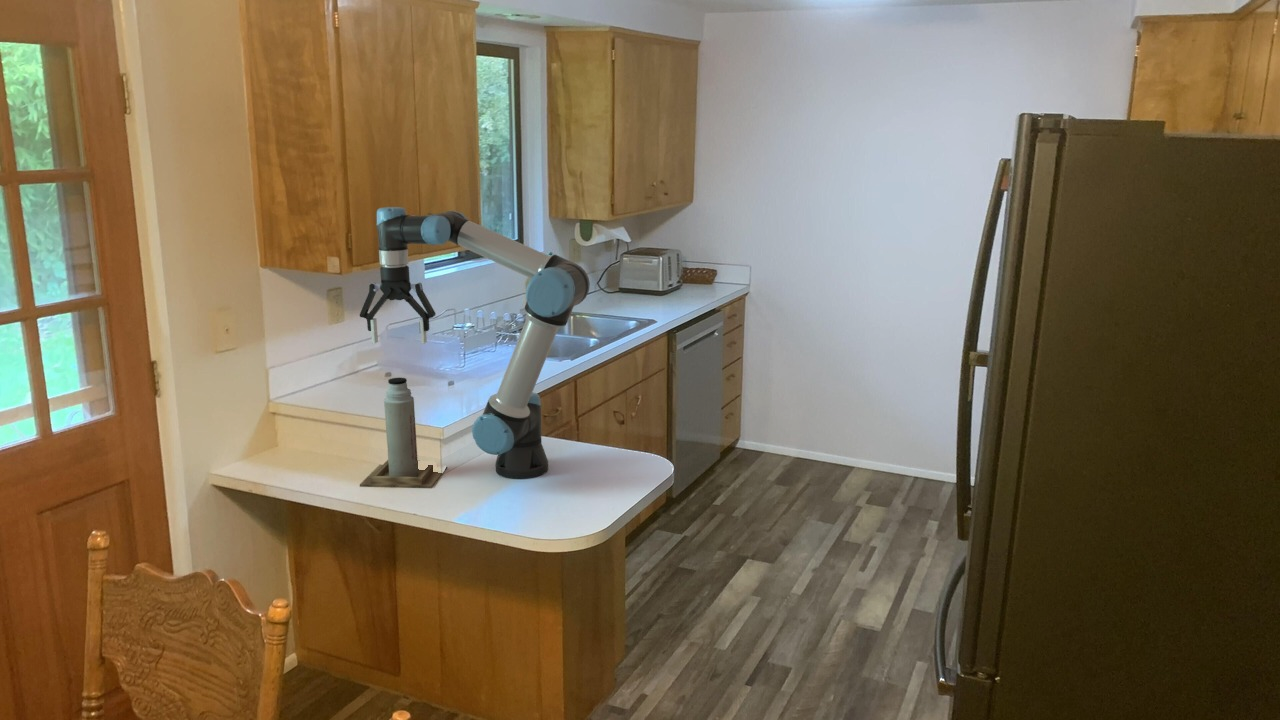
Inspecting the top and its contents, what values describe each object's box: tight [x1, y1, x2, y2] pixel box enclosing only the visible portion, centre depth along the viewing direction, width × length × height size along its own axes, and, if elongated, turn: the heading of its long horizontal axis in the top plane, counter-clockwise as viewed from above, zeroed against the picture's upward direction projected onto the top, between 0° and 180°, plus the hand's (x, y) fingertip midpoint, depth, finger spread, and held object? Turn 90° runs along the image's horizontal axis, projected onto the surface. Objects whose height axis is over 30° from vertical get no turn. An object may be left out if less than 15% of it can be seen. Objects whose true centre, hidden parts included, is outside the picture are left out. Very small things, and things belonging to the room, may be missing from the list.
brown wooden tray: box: [359, 459, 443, 489], centre depth 260 cm, size 20×16×2 cm
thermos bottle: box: [383, 377, 419, 477], centre depth 257 cm, size 8×8×28 cm
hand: (399, 342), depth 252 cm, fingers open, 13 cm apart
